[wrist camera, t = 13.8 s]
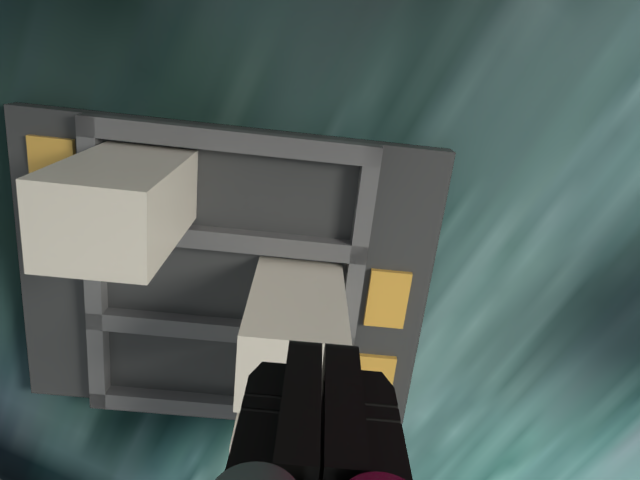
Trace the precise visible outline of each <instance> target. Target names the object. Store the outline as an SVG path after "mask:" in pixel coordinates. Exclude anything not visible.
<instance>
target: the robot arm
mask: <svg viewBox="0 0 640 480" xmlns="http://www.w3.org/2000/svg"><path fill="white" fill-rule="evenodd" d="M216 480H413V479H412V474H411V469H410V464H409V459H408V454H407V449H406V444H405V439H404V433H403V428H402V424H401V418H400V413H399V409H398V403H397V398H396V393H395V388H394V386H393V385H392V384H391V383H390V381H389V380H388V379H387V378H386V376H385V375H384V374H383V373H382V372H379V371H368V370H361V363H360V353H359V347H358V346H351V345H340V344H328V343H325V347H324V355H323V364H322V343H316V342H304V341H293V340H289V346H288V353H287V360H286V364H285V363H274V362H261V363H260V364H259V365H258V366H257V367H256V368H255V369H254V370H253V372H252V373H251V374H250V375H249V376H248V380H247V385H246V389H245V393H244V397H243V401H242V405H241V411H240V413H239V417H238V421H237V425H236V429H235V433H234V437H233V441H232V445H231V449H230V453H229V457H228V461H227V465H226V469H225V471H224V472H223V473H221V474H220V475H219V476H218V477H217V478H216Z"/></svg>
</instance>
